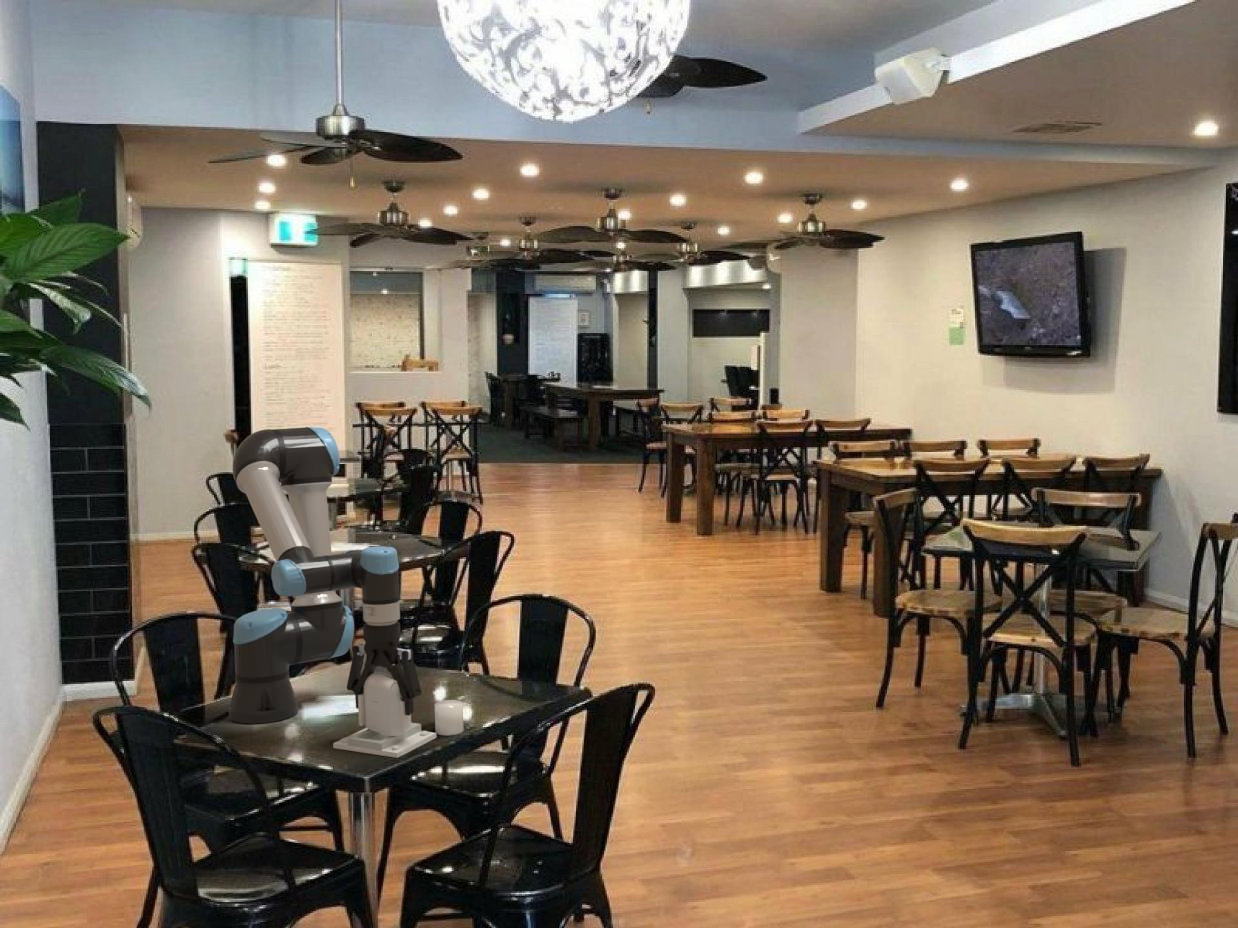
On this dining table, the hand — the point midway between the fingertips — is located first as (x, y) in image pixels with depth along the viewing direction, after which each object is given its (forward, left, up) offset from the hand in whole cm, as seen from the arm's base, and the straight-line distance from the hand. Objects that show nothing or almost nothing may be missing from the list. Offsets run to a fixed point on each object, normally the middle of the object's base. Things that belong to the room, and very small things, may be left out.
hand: (385, 726), depth 249 cm
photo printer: (0, 0, -1) cm, 1 cm away
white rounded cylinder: (+8, +12, -3) cm, 15 cm away
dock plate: (0, 0, -3) cm, 3 cm away
